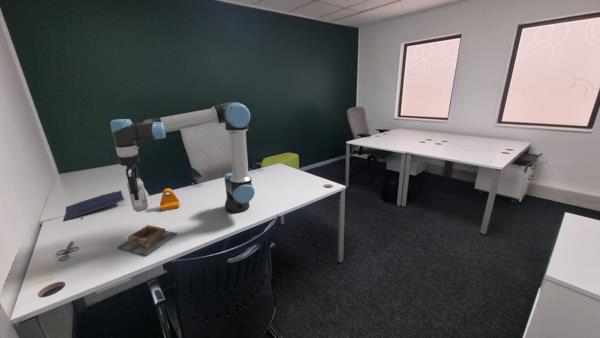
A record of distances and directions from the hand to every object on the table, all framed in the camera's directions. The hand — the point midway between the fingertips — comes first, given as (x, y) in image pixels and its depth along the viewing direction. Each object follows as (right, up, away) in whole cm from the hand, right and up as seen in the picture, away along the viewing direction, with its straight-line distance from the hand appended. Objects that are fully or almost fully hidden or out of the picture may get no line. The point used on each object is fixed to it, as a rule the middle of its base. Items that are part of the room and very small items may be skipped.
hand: (139, 202), depth 114 cm
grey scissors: (-34, -23, +1) cm, 41 cm away
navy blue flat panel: (-57, -9, +43) cm, 72 cm away
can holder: (0, -20, +6) cm, 21 cm away
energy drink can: (0, -3, +1) cm, 4 cm away
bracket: (-7, -9, +41) cm, 43 cm away
